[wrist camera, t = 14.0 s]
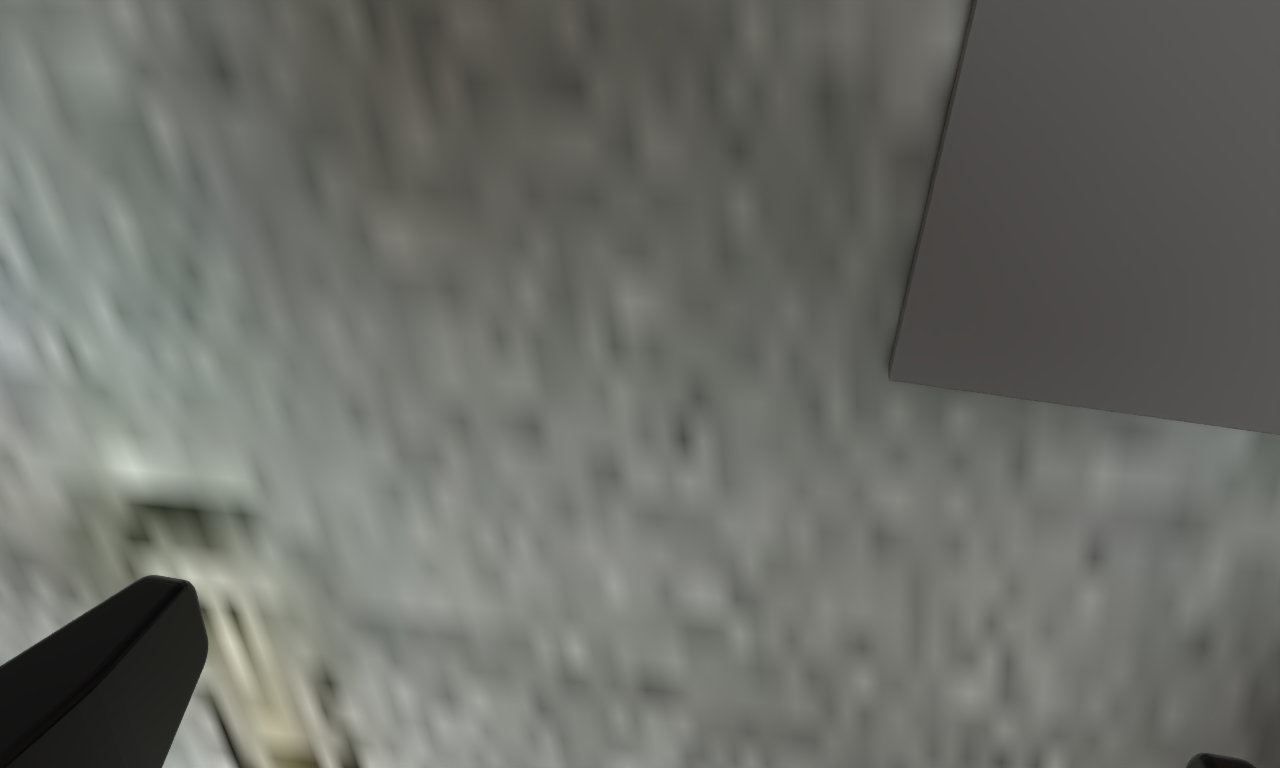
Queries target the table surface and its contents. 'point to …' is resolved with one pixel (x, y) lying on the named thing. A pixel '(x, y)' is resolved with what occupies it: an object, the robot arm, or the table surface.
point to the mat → (1107, 212)
